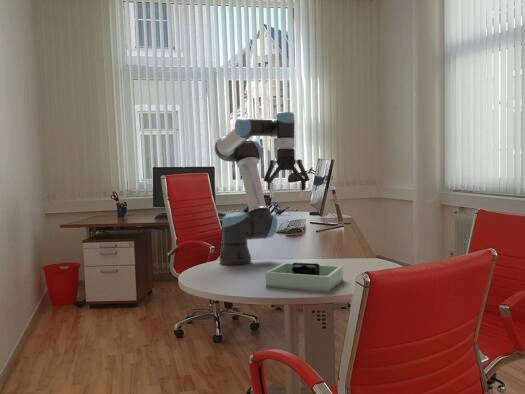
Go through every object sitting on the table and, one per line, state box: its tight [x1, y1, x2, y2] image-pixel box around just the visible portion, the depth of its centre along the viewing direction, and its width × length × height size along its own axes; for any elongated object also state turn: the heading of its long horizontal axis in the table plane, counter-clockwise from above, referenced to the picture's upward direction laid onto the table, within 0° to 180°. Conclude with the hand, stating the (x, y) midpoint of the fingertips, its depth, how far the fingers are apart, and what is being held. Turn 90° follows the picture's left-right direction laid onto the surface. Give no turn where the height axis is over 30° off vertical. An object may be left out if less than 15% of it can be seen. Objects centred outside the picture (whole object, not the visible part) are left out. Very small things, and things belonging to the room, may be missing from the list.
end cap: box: [292, 262, 320, 275], centre depth 195 cm, size 10×7×7 cm
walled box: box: [265, 262, 344, 293], centre depth 195 cm, size 24×20×6 cm
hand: (286, 197), depth 218 cm, fingers open, 13 cm apart
